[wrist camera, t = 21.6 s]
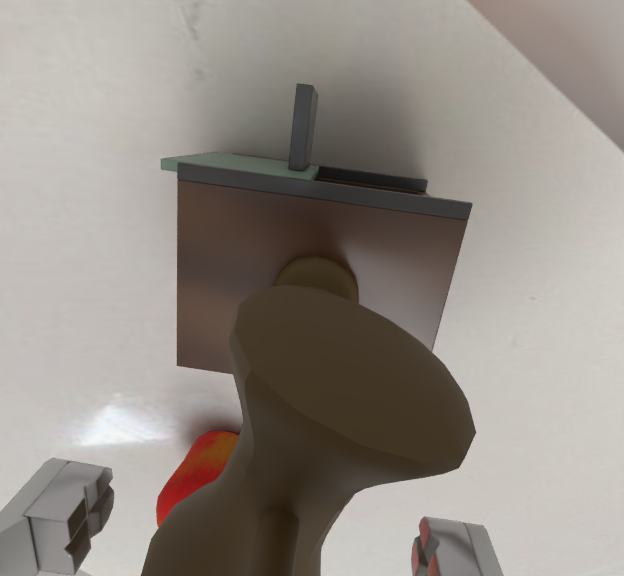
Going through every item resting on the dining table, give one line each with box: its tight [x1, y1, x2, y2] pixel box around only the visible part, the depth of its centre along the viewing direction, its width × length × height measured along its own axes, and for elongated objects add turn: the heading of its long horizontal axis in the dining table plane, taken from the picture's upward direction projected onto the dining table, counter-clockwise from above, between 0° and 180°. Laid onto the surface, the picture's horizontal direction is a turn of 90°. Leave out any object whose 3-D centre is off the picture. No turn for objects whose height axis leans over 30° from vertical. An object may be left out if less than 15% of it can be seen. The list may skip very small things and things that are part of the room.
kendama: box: [141, 256, 476, 576], centre depth 14 cm, size 6×10×20 cm, turn 156°
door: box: [161, 84, 319, 181], centre depth 26 cm, size 6×8×11 cm, turn 83°
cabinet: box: [177, 154, 472, 374], centre depth 29 cm, size 13×16×12 cm
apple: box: [156, 431, 239, 527], centre depth 38 cm, size 9×8×12 cm
